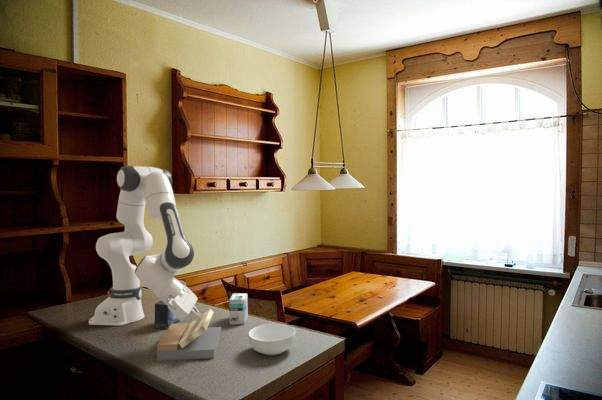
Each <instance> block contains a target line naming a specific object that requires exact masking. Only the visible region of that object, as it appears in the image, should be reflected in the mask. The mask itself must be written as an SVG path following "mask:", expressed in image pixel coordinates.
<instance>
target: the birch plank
mask: <svg viewBox="0 0 602 400" xmlns="http://www.w3.org/2000/svg"><path fill="white" fill-rule="evenodd" d="M201 314H202V316H201V318H200V319H199V320H198V321H197V320H196V319H195V318H194V320H192V321H191V322H190V323H189V326H188V327H187V329H186V331H185V333H184V335H183V337H182V338H181V340H180V342H179V345H180V346H181V347H182V348H183V347H184V346H186V345H187V344H188V343H190V342H191V341H193V340H194V339H195V338H197V337H198V336H199V335H201V334H202V333H204V332H205V331H206V330H207V327H209V324H210V322H211V320H212V317H213V315H214V310H213V309H212V308H209V309H208V310H207V311H205V312H203V313H201Z"/></svg>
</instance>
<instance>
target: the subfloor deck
mask: <svg viewBox="0 0 602 400" xmlns="http://www.w3.org/2000/svg"><path fill="white" fill-rule="evenodd" d="M189 324H190V323H189V322H187V323H186V322H182V323H179V322H178V323H176V324H171V325H170V327H169V328H168V329H166V332H165V333H164V334H163V336H162V337H161V339H160V340H159V341H158V344H157V345H156V347H157V350H156V357H157V358H156V361H157V362H158V361H159V362H160V361H177V360H178V361H180V360H199V359H201V360H203V359H215V356H216V353H217V349H218V347H219V343H220V339H221V337H222V326H212V327H211V326H208V327H207V330H206V331H205V332H204V333H202V334H201V335H199V336H198V337H197V338H195V339H194V340H193V341H191V342H190V343H188V344H187V345H186V346H184V347H183V348H182V347H181V346H180V345H179V342H180V340H181V338H182V337H183V335H184V333H185V331H186V329H187V327H188V326H189Z"/></svg>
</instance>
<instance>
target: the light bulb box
mask: <svg viewBox="0 0 602 400" xmlns="http://www.w3.org/2000/svg"><path fill="white" fill-rule="evenodd" d="M248 295H249V294H248V293H244V292H243V293H239V292H238V293H237V292H235V293H232V295H231V297H230V298H229V302H228V303H229V304H228V305H229V325H245V324H246V322H247V320H248V318H249V313H248V312H249V310H248V309H249V307H248V305H249V303H248V302H249V301H248V299H249V297H248Z"/></svg>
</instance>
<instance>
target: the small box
mask: <svg viewBox="0 0 602 400" xmlns="http://www.w3.org/2000/svg"><path fill="white" fill-rule="evenodd" d="M180 321H181V320H179V319H178V318H177V317H176V316H175V315H174V314H173V313H172V312H171V311H170V310H169V308H168V304H167V305H166V304H165V303H164V302H162V301H161V300H159V301H157V302H155V303H154V329H160V330H161V329H162V330H168V328H169V327H170V325H171V324H178V323H179V322H180Z"/></svg>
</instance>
